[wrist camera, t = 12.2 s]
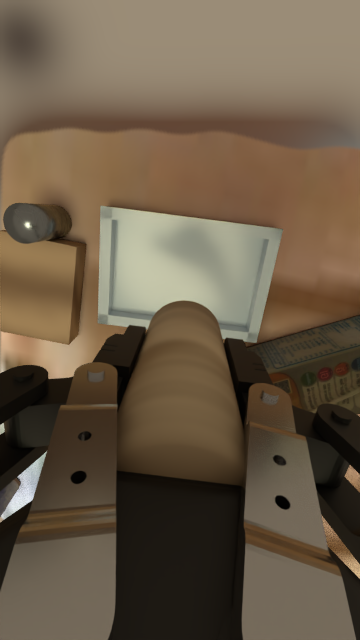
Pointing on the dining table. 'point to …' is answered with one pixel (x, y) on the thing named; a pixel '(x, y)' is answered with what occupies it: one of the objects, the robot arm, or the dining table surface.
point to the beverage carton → (317, 365)
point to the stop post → (36, 222)
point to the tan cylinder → (182, 402)
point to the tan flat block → (41, 288)
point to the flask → (8, 494)
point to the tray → (184, 268)
